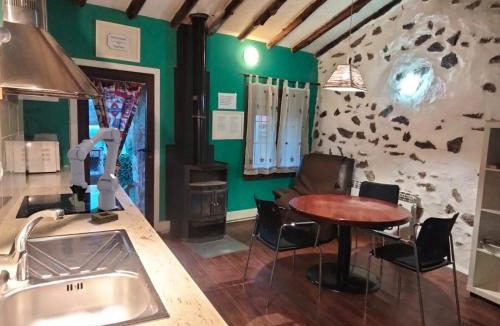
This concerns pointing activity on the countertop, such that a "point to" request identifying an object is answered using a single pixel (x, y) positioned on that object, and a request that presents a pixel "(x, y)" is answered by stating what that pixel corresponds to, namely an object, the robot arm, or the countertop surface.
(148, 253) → the countertop surface
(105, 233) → the countertop surface
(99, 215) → the brown square frame
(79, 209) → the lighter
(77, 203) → the sage peg
